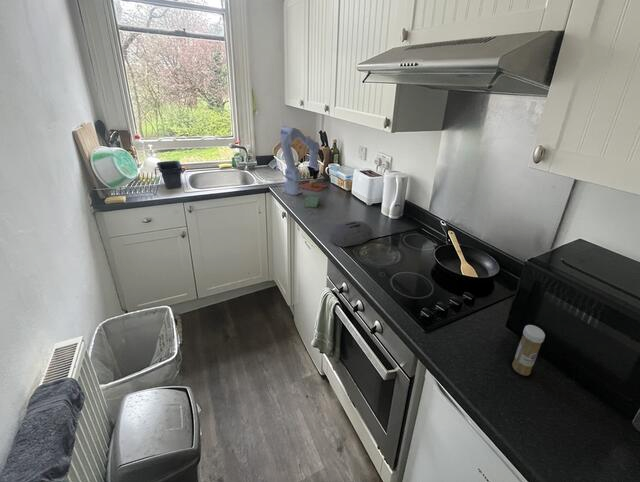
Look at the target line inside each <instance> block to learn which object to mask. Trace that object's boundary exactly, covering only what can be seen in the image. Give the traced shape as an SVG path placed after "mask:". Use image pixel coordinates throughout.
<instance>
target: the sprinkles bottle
mask: <svg viewBox="0 0 640 482" xmlns="http://www.w3.org/2000/svg"><path fill="white" fill-rule="evenodd" d="M545 337H546V334H545V332H544V331H543V329H541V328H540V327H538V326H536V325H533V324H527V325H525V326H524V328H523V331H522V336H521V339H520V341H519V344H518V346H517V349H516V352H515V355H514V359H513V361H512V363H511V366H512V368H513V370H514V371H515V372H516V373H518V374H519V375H521V376H530V375H531V373H532V370H533V367H534V365H535V362H536V360H537V357H538V354H539V351H540V348H541V345H542V343H543V342H544V341H545Z"/></svg>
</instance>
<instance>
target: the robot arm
mask: <svg viewBox="0 0 640 482" xmlns="http://www.w3.org/2000/svg"><path fill="white" fill-rule="evenodd" d="M279 135H280V147H281V150H282V153H283V158H284V161H285V165H286V168H285V169H284V172H285V174H284V176H285V178H286V179H285V180H284V183H283V194H286V195H290V196H298V195H299V194H302V191H300V188H299V186H300V182H301V179H302V173H301V171H300V169H299V168H298V167H297V166H296V162H295V159H294V154H293V150H292V146H291V144H292V143H293V142H294V141H295V140H296V139H299V140H300V141H301V142H302V144H303V145H304V146H306V147H307V149H308V150H309V154H308V155H309V161H308V166H306V167H307V169H308V174H309V177H312V180H318V175H319V173H320V169H319V166H320V165H319V163H318V161H319V159H318V157H319V155H318V154H319V151H320V149H321V148H320V147H321V145H320V143H319V142H317V141H315V140H314V139H312V138H311V136H309V135H308V136H307V135H306V136H305V135H304V134H303V133H302V132H301V131H300V130H299V129H297V128H296V127H290V126H287V125H286V126H285V125H284V126H282V127H281V128H280V130H279Z"/></svg>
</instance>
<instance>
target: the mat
mask: <svg viewBox="0 0 640 482" xmlns="http://www.w3.org/2000/svg"><path fill="white" fill-rule="evenodd" d="M327 187H328V185H326V184H320V183H317V187H311V186H310V181H308V182H305V183H303V184H302V185H299V189H304V190H309V191H314V192H316V193H317V192H320V191H322V190H323V189H325V188H327Z"/></svg>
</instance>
